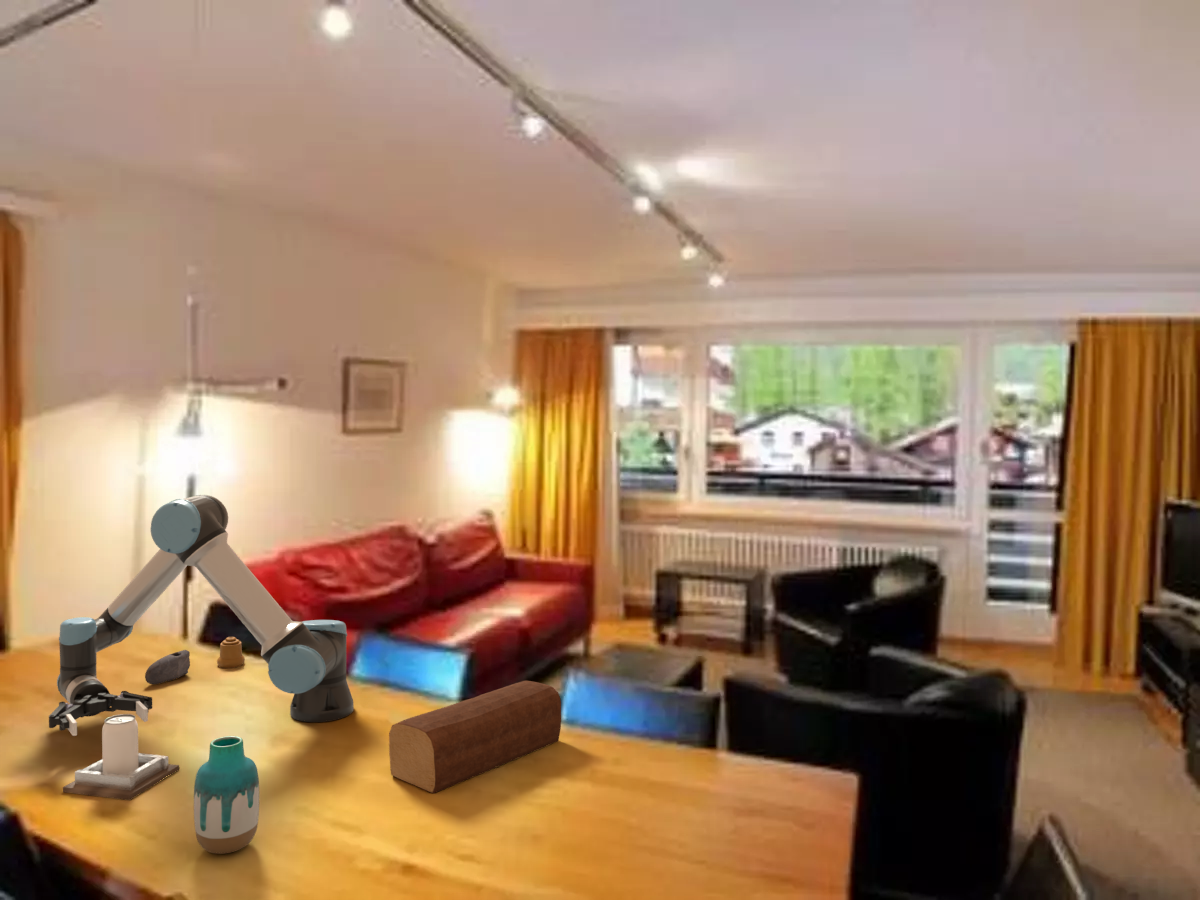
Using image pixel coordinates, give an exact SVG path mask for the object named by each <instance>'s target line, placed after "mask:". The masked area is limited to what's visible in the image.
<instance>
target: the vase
mask: <svg viewBox="0 0 1200 900" xmlns="http://www.w3.org/2000/svg"><path fill="white" fill-rule="evenodd" d="M193 786H194V787H193V821H194V830H195V837H196V840H197V842H198V844H199V845H200V847H201V848H202V849H203V850H205V851H206V852H209V853H212V854H218V855H220V854H224V855H225V854H230V853H233V852H237V851H239V850H241V849H243V848H245V847H246V846H247V845H249V844H250V843H251V842H252V841H253V839H254V837H255V835H256V833H257V829H258V824H259V815H260V779H259V773H258V768H257V764H256V762H255V761H254V760H253V759H251V758H250V757H247V756H245V750H244V740H243V738H242V737H240V736H236V735H235V736H234V735H227V736H222V737H217V738H215V739H213V740H211V742H210V743H209V753H208V760H207V761H206V762H204V763H203V764H201V765H200V766H199V768H198V769H197V772H196V774H195V780H194V785H193Z"/></svg>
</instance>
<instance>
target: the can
mask: <svg viewBox="0 0 1200 900" xmlns="http://www.w3.org/2000/svg"><path fill="white" fill-rule="evenodd" d="M101 730H102V731H101V741H102V742H101V744H102V745H101V746H102V747H101V748H102V751H101V752H102V754H101V755H102V756H101V757H102V758H101V759H103V772H106V773H115V774H123V775H127V774H129V773H131V772H132V771H134V770H136V769H138V753H139V726H138V721H137V720H136V716H135V715H134V714H130V713H122V714H120V713H119V714H115V715H112V716H109V717H107V718H105V719H104V724H103V725H102V729H101Z"/></svg>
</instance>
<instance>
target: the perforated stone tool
mask: <svg viewBox="0 0 1200 900" xmlns="http://www.w3.org/2000/svg"><path fill="white" fill-rule="evenodd" d="M190 660H191V659H190V651H189V650H188V649H182V650H179V651H176V652H172V653H170V654H166V655H165V656H163V657H161V658H160V659H158V660H156V661H154V662H152V664H150V666H148V667H147V669H146V671H145V674H144V679H145V681H146V683H147V684H149V685H159V683H160V684H162V683H166V682H165V681H168V682H171V681H174V680H177V679H179V678H180V677H182V676H185V675H187V674H188V673H189V669H190V666H191V661H190ZM176 678H177V679H176ZM173 679H174V680H173ZM170 680H171V681H170Z"/></svg>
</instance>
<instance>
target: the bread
mask: <svg viewBox="0 0 1200 900" xmlns="http://www.w3.org/2000/svg"><path fill="white" fill-rule="evenodd" d="M561 725H562V700H561V697H560V694H559V692H558V691H557V690H556V689H555V688H554V687H553V686H552V685H548V684H546V683H541V682H538V681H533V680H532V681H531V680H521V681H519V682H515V683H513V684H509V685H506V686H504V687H501V688H498V689H495V690H492V691H488V692H486V693H483V694H479V695H477V696H474V697H472V698H469V699H465V700H462V701H458V702H456V703H453V704H451V705H447V706H444V707H441V708H437V709H434V710H431V711H428V712H424V713H421V714H417V715H415V716H411V717H409V718H406V719H403V720H401V721H399V722H397V723H394V724H392V725H391V727H390V729H389V731H388V732H389V733H388V741H389V742H388V746H389V747H388V751H389V752H388V753H389V766H390V775H391V776H393V777H395V778H396V779H399V780H402V781H404V782H406V783H409V784H411V785H413V786H415V787H418V788H420V789H422V790H424V791H426V792H428V793H431V794H435V793H438V792H441V791H443V790H445V789H448V788H450V787H453V786H455V785H458V784H460V783H462V782H465V781H466V780H469V779H472V778H473V777H476V776H479V775H481V774H484V773H486V772H489V771H491V770H493V769H495V768H498V767H499V766H502V765H505V764H507V763H510V762H512V761H515V760H517V759H520V758H522V757H524V756H526V755H528V754H531V753H533V752H536V751H538V750H540V749H543V748H545V747H546V748H547V746H550V745H552V744H555V743H556V742H558V741H559V739H560V733H561V727H562V726H561Z"/></svg>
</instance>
